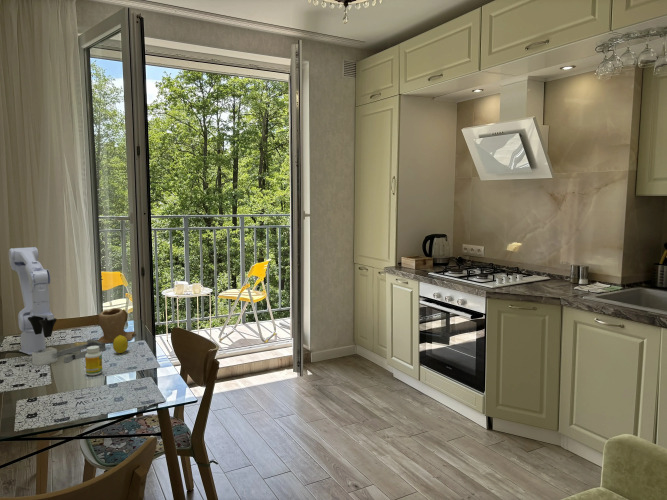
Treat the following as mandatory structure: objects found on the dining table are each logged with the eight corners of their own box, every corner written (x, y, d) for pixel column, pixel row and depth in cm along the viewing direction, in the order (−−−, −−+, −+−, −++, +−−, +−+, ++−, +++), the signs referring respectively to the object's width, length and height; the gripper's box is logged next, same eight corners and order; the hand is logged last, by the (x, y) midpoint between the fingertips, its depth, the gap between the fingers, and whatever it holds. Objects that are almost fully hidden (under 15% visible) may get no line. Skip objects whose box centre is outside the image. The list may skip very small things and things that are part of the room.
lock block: (32, 364, 184) (31, 351, 183) (51, 359, 189) (50, 346, 189) (38, 366, 181) (37, 353, 181) (57, 361, 187) (56, 348, 186)
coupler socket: (48, 357, 191) (48, 348, 191) (89, 346, 205) (89, 338, 205) (65, 363, 184) (65, 354, 184) (107, 351, 198) (106, 343, 198)
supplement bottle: (86, 371, 175) (84, 346, 174) (102, 369, 177) (101, 344, 176) (85, 376, 170) (84, 350, 169) (102, 374, 172) (101, 348, 171)
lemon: (122, 356, 192) (121, 337, 191) (110, 355, 193) (109, 336, 192) (131, 352, 197) (130, 333, 196) (119, 351, 198) (118, 332, 198)
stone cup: (97, 348, 204) (95, 313, 202) (98, 340, 214) (97, 307, 213) (136, 343, 210) (134, 310, 208) (135, 336, 220) (134, 304, 219)
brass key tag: (73, 346, 205) (73, 343, 205) (77, 345, 208) (77, 341, 207) (84, 347, 204) (84, 344, 204) (89, 346, 206) (89, 342, 206)
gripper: (20, 300, 186) (23, 335, 187) (39, 305, 178) (41, 340, 179) (40, 297, 192) (42, 331, 193) (58, 301, 184) (60, 336, 185)
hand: (43, 335), depth 187 cm, fingers open, 7 cm apart
